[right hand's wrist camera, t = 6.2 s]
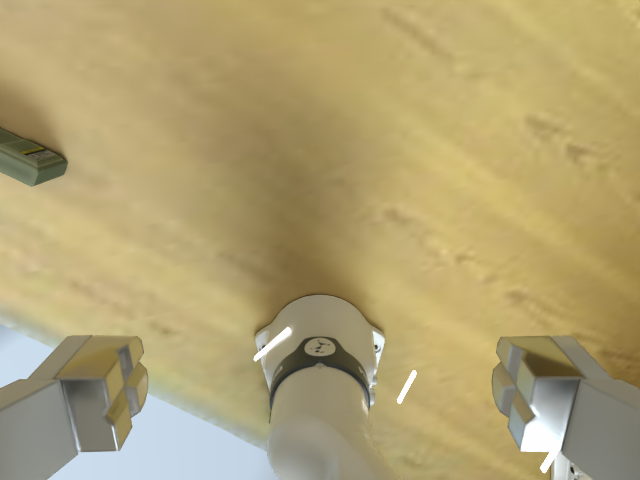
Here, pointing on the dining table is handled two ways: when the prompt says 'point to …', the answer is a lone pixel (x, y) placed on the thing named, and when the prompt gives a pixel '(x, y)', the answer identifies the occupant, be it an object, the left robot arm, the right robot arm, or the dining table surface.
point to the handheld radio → (28, 160)
